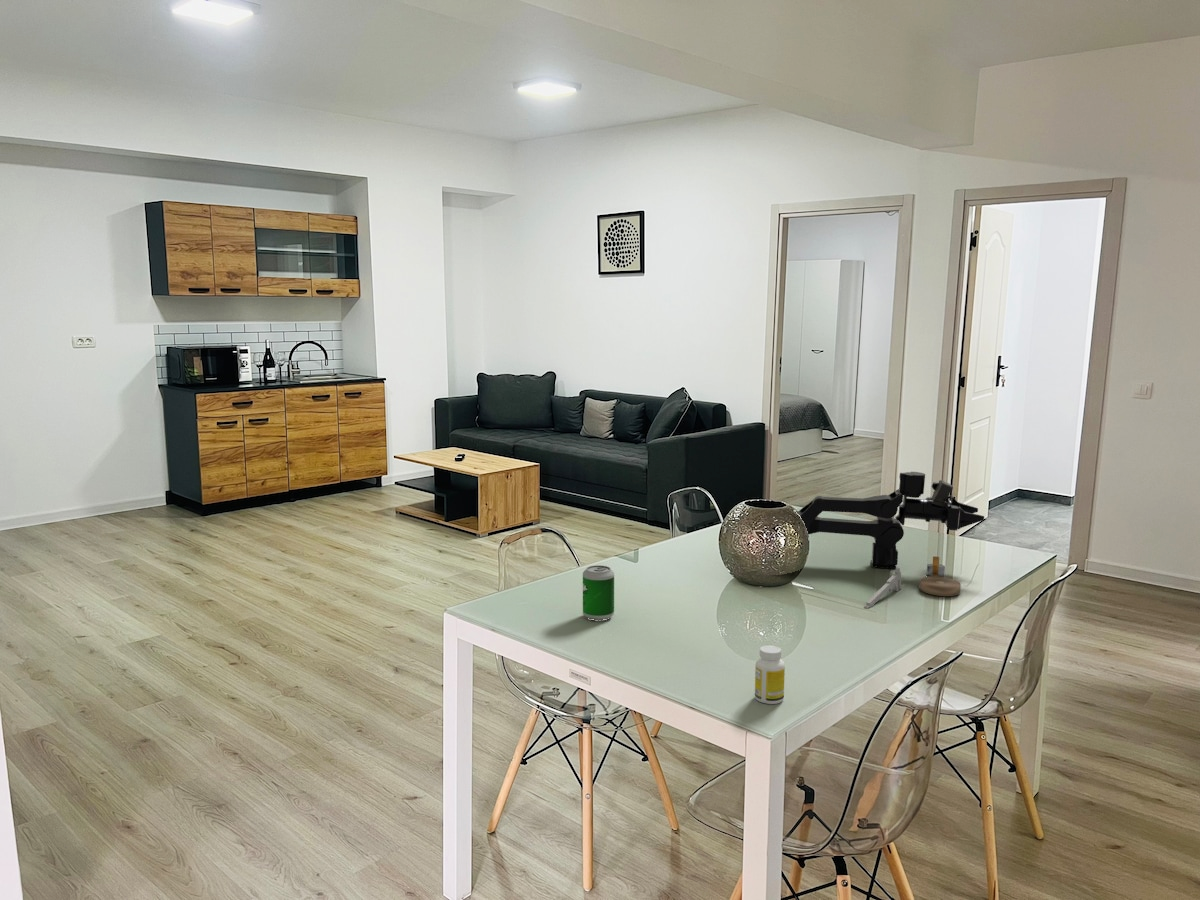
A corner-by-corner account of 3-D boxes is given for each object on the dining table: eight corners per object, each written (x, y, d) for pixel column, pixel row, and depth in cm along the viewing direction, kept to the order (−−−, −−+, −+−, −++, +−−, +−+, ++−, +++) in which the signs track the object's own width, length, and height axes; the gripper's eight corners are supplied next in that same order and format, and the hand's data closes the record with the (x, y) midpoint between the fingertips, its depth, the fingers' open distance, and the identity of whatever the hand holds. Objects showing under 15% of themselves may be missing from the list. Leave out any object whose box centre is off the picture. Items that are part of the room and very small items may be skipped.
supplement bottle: (788, 697, 169) (790, 648, 167) (775, 707, 165) (777, 656, 163) (762, 690, 172) (764, 641, 171) (749, 700, 168) (750, 650, 166)
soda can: (619, 615, 215) (620, 567, 213) (604, 624, 208) (604, 575, 207) (593, 610, 219) (593, 562, 217) (576, 619, 212) (576, 570, 210)
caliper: (896, 589, 236) (898, 566, 235) (900, 590, 235) (902, 567, 234) (863, 608, 220) (864, 584, 219) (868, 609, 220) (869, 585, 219)
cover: (926, 579, 244) (927, 567, 244) (924, 573, 249) (924, 562, 249) (947, 580, 243) (947, 568, 243) (943, 575, 248) (944, 563, 248)
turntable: (963, 597, 227) (965, 571, 226) (922, 594, 229) (923, 569, 228) (953, 581, 241) (955, 557, 240) (914, 579, 243) (916, 555, 242)
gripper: (929, 488, 242) (990, 493, 238) (920, 474, 260) (977, 478, 256) (925, 528, 244) (986, 533, 241) (917, 512, 262) (973, 516, 258)
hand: (980, 514), depth 249 cm, fingers open, 9 cm apart
